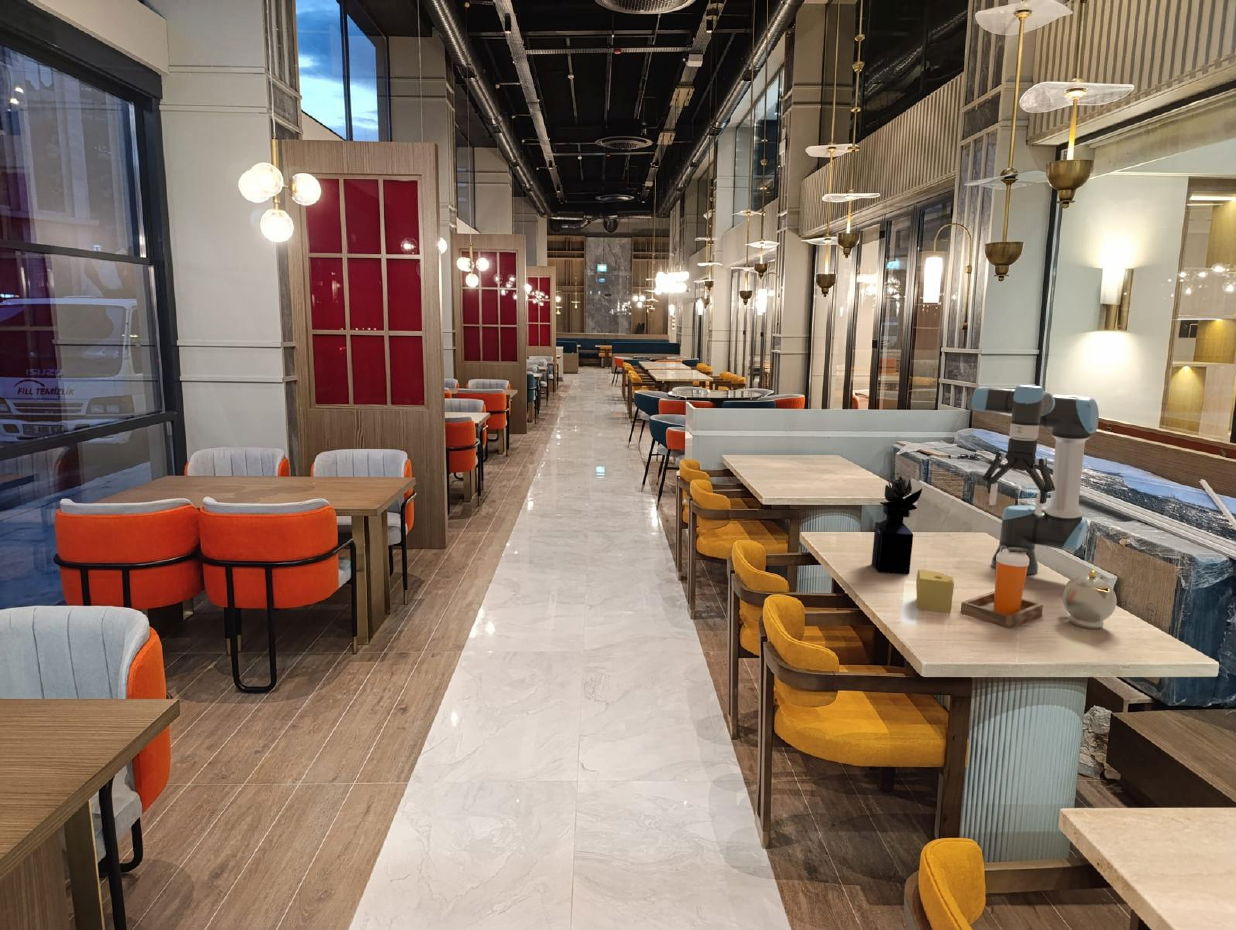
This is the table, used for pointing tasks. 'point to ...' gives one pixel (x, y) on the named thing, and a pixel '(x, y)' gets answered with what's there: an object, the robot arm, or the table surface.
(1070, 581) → the teapot
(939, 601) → the cheese
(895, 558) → the vase
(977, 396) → the robot arm
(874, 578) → the table surface
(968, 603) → the tray
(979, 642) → the table surface
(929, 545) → the table surface
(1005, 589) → the shaker bottle
